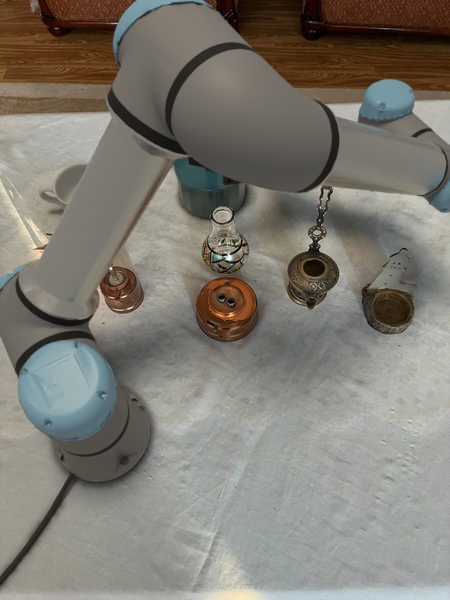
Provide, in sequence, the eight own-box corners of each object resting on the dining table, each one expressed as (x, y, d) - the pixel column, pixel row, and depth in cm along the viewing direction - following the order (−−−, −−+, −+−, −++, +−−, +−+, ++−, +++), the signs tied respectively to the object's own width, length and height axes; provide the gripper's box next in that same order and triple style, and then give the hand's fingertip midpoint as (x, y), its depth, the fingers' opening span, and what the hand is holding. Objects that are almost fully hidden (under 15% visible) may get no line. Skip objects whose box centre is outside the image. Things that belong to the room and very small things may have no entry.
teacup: (120, 190, 112) (112, 163, 105) (109, 231, 107) (100, 205, 100) (57, 187, 113) (45, 160, 106) (43, 227, 108) (29, 201, 101)
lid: (256, 149, 106) (257, 116, 99) (234, 202, 99) (234, 171, 92) (189, 134, 109) (185, 101, 102) (163, 185, 102) (157, 153, 95)
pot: (243, 220, 107) (243, 191, 100) (177, 218, 108) (172, 189, 100) (246, 170, 114) (246, 140, 106) (183, 169, 115) (179, 139, 107)
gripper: (332, 92, 96) (222, 72, 99) (298, 192, 84) (175, 164, 88) (326, 125, 102) (223, 104, 106) (294, 221, 90) (179, 194, 94)
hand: (201, 131), depth 97 cm, fingers open, 13 cm apart
